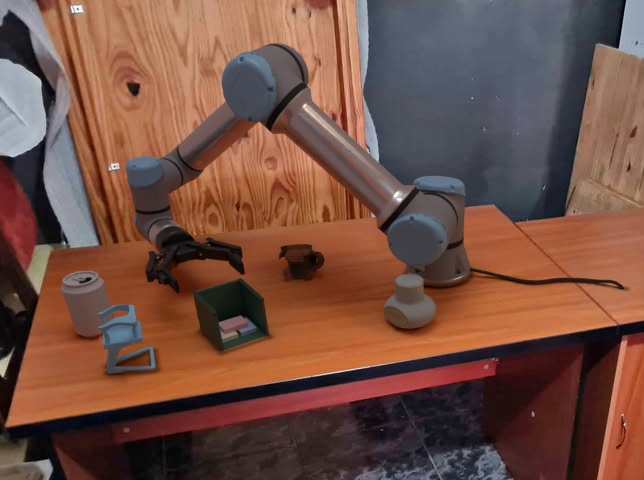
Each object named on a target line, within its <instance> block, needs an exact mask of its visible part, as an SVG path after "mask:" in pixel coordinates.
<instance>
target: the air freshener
mask: <svg viewBox="0 0 644 480" xmlns="http://www.w3.org/2000/svg"><path fill="white" fill-rule="evenodd" d="M436 312H437V306H436V303H435V302H434V300H433V299H432V298H431V297H430V296H429V295H427V294H426V293H425V286H424V280H423V278H422V277H421V276H419V275H416V274H407V273H404V274H400V275H398V276H396V278H395V279H394V294H392V295H391V296H389V297H388V299H386V301H385V302H384V305H383V314H384V316H385V318H386V319H387V320H388V321H389V322H390V323H391V324H392V325H393V326H396V327H398V328H401V329H408V330H409V329H410V330H411V329H419V328H422V327H424V326H426V325H428V324H429V323H430V322H431V321H432V320H433V319H434V318H435V316H436Z"/></svg>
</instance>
